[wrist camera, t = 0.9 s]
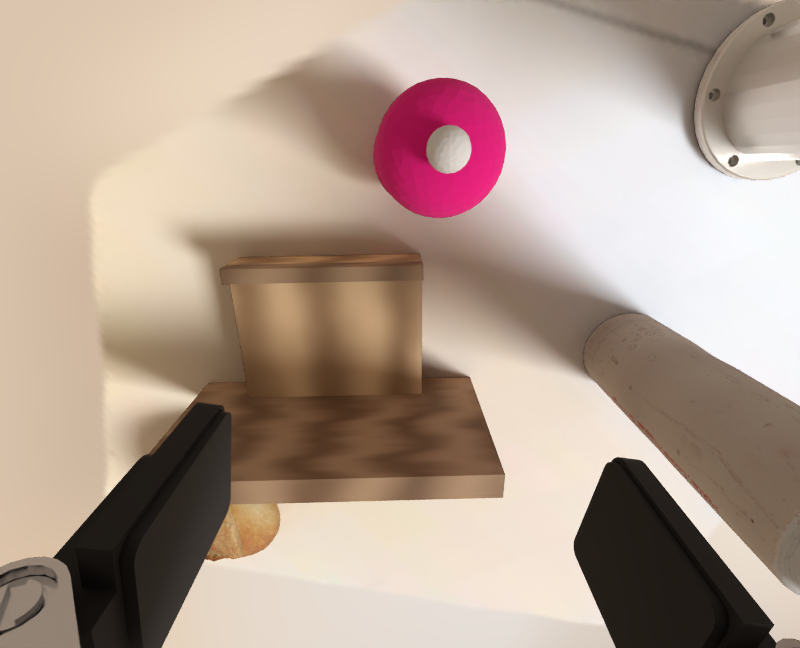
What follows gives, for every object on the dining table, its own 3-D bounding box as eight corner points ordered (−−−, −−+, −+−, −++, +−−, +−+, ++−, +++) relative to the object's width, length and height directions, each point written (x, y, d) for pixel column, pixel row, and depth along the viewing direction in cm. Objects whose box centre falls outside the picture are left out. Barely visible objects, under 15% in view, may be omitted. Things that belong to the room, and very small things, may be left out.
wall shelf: (475, 252, 37) (520, 300, 24) (468, 394, 42) (502, 497, 29) (182, 258, 37) (67, 310, 24) (211, 400, 42) (130, 507, 29)
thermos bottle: (615, 400, 43) (961, 768, 17) (566, 353, 41) (871, 688, 15) (681, 348, 41) (1189, 673, 15) (632, 295, 39) (1121, 566, 13)
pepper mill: (365, 121, 33) (329, 69, 15) (453, 96, 33) (533, 8, 14) (388, 212, 36) (383, 264, 17) (471, 189, 35) (558, 219, 17)
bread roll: (228, 534, 49) (198, 601, 41) (163, 432, 44) (116, 487, 36) (304, 513, 48) (288, 578, 40) (247, 407, 43) (216, 458, 35)
